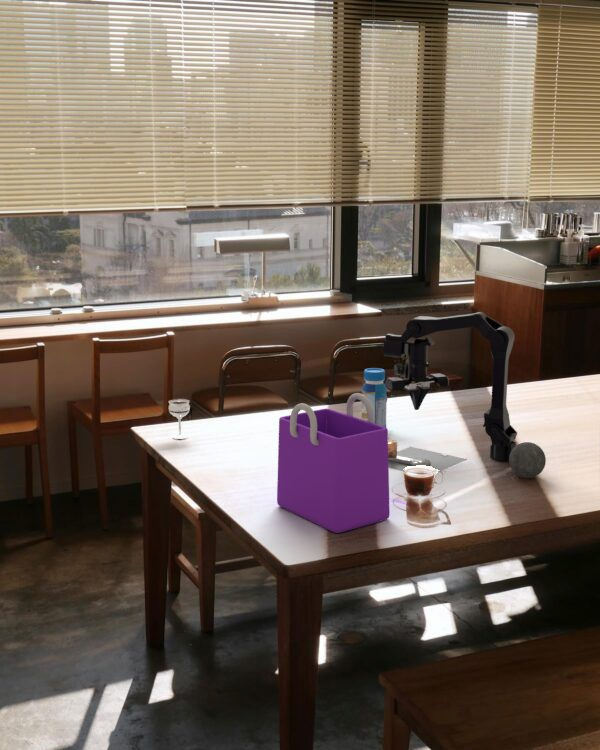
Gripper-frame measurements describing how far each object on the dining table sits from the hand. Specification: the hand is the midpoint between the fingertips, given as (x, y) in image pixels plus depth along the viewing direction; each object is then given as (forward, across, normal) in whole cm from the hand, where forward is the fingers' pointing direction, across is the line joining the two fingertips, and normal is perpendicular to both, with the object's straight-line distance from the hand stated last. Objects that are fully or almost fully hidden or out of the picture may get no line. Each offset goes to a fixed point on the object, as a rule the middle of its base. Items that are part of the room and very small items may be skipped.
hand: (416, 409), depth 309 cm
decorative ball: (+13, -18, +33) cm, 40 cm away
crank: (+12, +9, +13) cm, 20 cm away
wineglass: (+13, +64, -39) cm, 76 cm away
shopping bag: (+13, +43, +41) cm, 61 cm away
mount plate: (+13, +5, +12) cm, 19 cm away
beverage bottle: (+13, +2, -26) cm, 30 cm away
